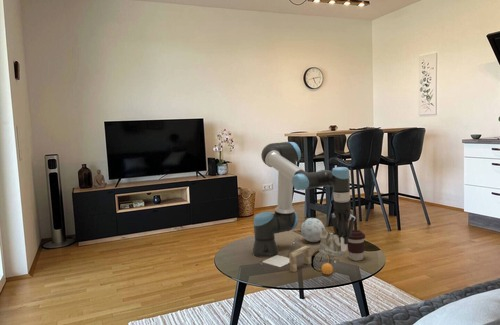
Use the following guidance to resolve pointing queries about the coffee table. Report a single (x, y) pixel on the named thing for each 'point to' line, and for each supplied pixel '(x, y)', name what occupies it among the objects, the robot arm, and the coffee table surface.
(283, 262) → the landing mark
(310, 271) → the coffee table surface
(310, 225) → the puzzle ball
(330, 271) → the ball
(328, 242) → the ceramic cottage
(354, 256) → the coffee cup
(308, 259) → the bridge
